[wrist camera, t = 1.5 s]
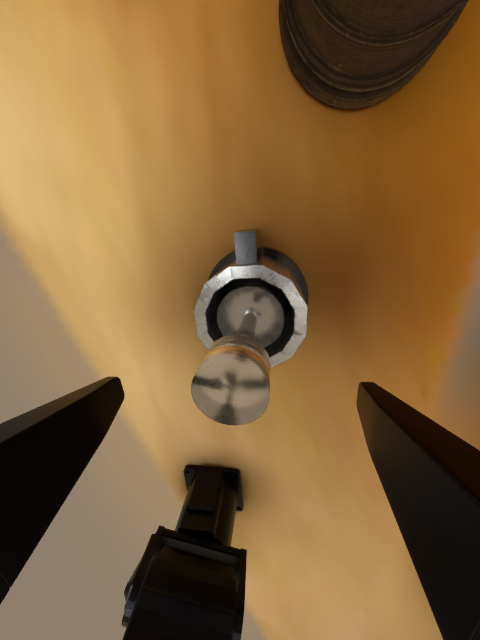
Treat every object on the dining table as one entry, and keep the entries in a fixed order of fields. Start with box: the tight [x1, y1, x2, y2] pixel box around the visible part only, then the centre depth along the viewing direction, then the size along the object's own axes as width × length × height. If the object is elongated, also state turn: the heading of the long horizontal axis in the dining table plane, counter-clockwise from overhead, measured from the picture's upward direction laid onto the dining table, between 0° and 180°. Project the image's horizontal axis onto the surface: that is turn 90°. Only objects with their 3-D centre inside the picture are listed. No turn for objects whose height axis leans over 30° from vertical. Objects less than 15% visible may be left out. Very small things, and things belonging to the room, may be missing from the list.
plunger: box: [191, 285, 284, 425], centre depth 12 cm, size 4×4×8 cm
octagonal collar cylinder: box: [194, 229, 308, 368], centre depth 17 cm, size 9×8×5 cm
